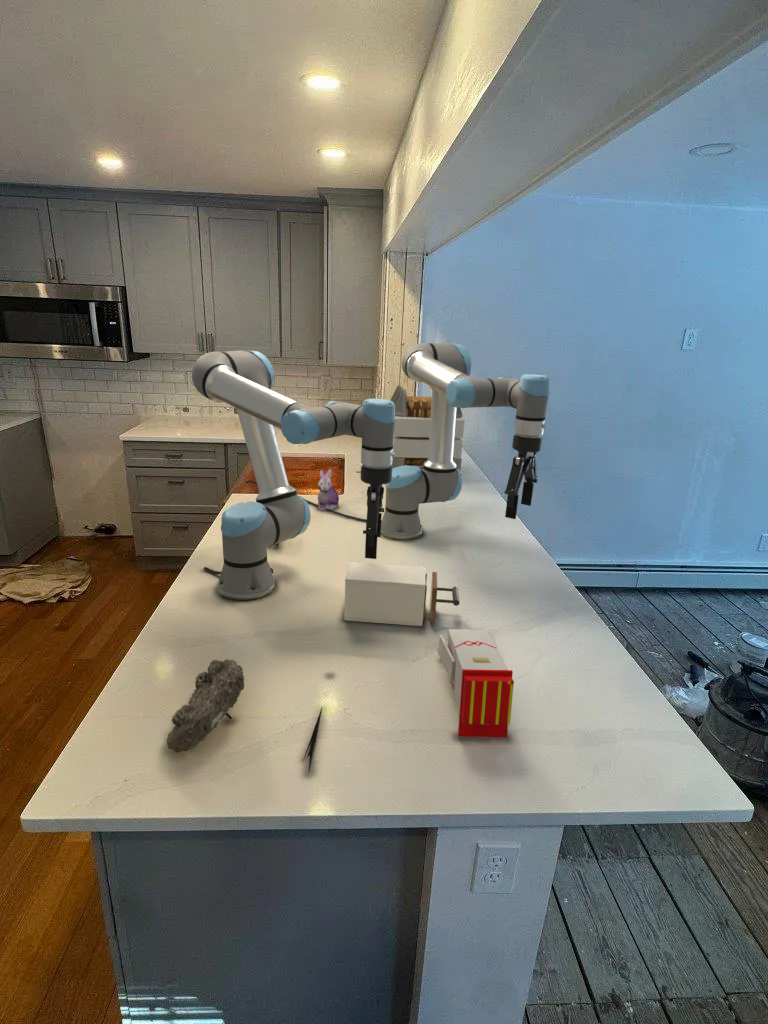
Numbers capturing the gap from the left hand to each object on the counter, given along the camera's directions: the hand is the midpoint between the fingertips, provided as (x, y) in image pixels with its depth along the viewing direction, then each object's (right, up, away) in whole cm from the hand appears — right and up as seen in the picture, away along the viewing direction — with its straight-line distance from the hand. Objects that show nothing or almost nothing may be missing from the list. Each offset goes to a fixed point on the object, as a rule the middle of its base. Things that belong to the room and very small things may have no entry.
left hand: (373, 546), depth 143 cm
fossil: (-30, -30, -35) cm, 55 cm away
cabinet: (+3, -18, +5) cm, 18 cm away
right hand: (+40, +9, +14) cm, 43 cm away
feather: (-10, -31, -34) cm, 47 cm away
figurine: (-19, +11, +80) cm, 83 cm away
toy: (+21, -29, -24) cm, 43 cm away
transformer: (+20, +28, +132) cm, 137 cm away
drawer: (+9, -17, +4) cm, 20 cm away
